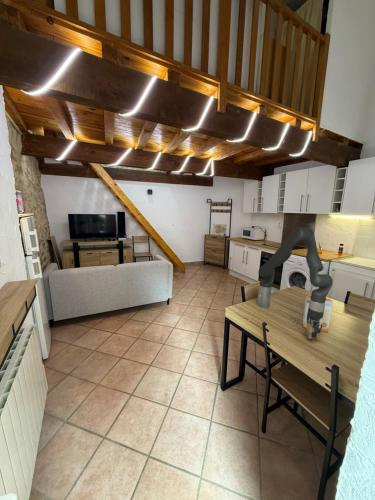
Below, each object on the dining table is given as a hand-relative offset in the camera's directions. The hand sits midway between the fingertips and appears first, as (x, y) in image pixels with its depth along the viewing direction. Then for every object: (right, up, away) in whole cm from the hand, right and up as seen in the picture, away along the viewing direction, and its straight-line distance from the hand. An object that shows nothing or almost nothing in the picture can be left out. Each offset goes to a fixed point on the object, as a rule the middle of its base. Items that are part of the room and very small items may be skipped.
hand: (311, 334), depth 118 cm
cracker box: (+12, -2, +16) cm, 20 cm away
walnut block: (0, -1, 0) cm, 1 cm away
